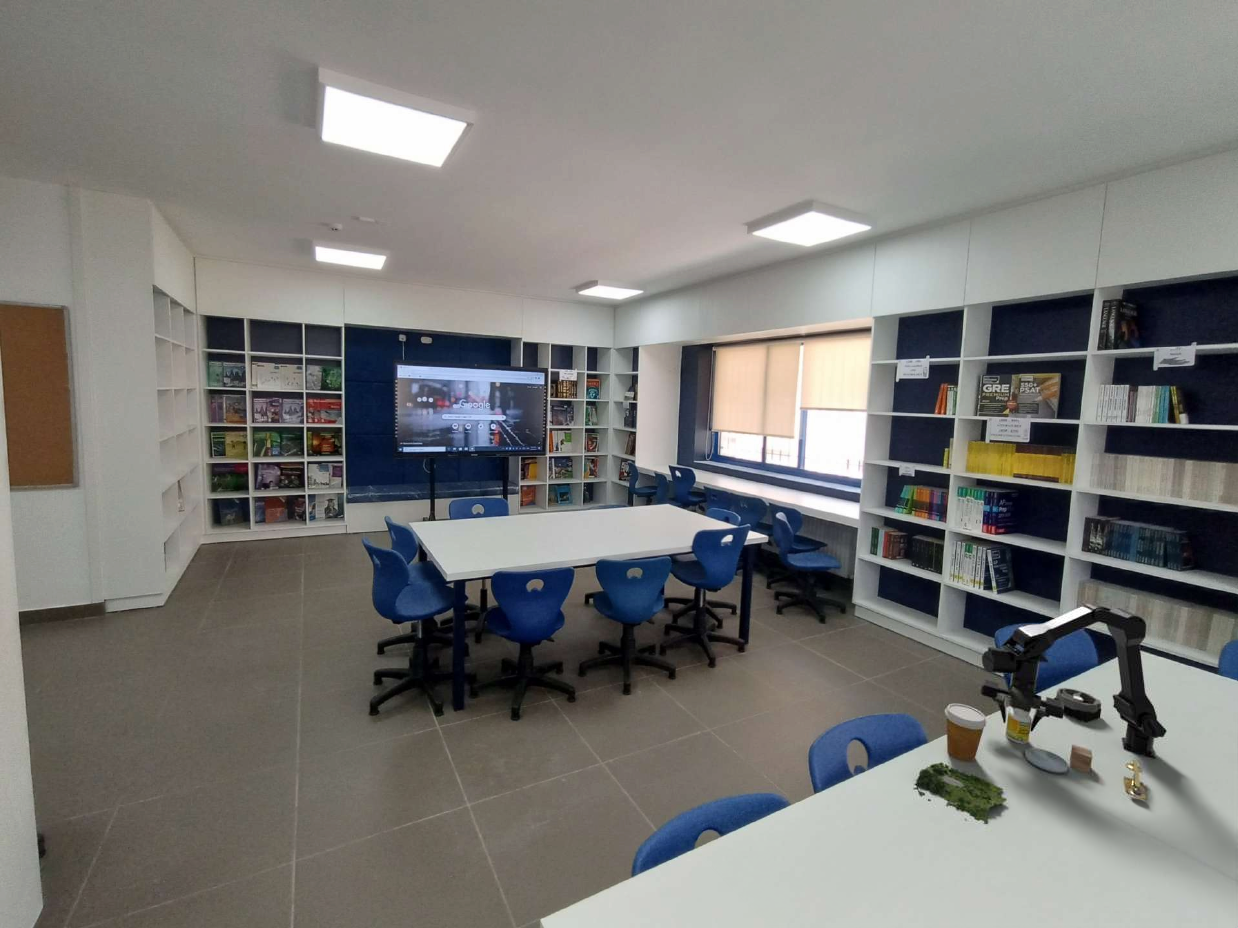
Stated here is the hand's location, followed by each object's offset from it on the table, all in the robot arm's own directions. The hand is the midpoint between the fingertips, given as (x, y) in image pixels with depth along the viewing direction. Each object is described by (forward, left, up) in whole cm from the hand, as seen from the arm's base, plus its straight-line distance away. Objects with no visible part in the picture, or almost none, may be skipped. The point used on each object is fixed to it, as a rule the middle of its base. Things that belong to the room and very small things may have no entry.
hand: (1017, 726), depth 159 cm
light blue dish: (+9, +7, -3) cm, 12 cm away
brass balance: (+6, +24, -3) cm, 25 cm away
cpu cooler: (-31, +14, -4) cm, 34 cm away
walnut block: (+4, +14, -4) cm, 15 cm away
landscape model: (+38, -9, -4) cm, 39 cm away
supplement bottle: (0, 0, -4) cm, 4 cm away
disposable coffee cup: (+20, -11, -4) cm, 23 cm away
